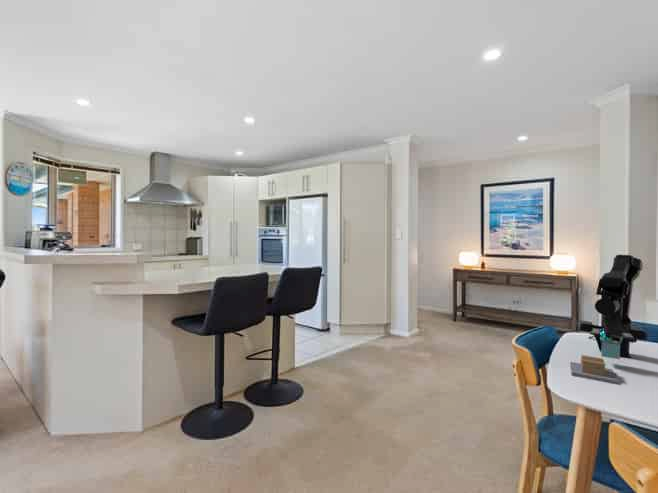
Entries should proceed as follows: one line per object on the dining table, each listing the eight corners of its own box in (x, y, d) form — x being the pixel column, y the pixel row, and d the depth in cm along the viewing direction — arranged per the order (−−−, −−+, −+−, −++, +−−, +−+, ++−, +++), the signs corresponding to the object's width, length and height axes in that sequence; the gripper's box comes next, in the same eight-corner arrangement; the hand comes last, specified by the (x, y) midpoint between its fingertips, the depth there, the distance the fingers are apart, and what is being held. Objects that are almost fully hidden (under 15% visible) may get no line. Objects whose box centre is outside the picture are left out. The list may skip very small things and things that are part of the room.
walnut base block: (580, 365, 121) (581, 354, 121) (602, 369, 118) (602, 358, 118) (582, 371, 116) (582, 360, 116) (604, 376, 113) (605, 364, 113)
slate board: (570, 364, 125) (570, 361, 125) (612, 372, 119) (612, 369, 119) (571, 375, 116) (571, 372, 116) (617, 384, 109) (617, 381, 109)
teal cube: (600, 352, 128) (600, 339, 128) (617, 354, 125) (617, 341, 125) (601, 356, 124) (602, 342, 124) (619, 359, 121) (620, 345, 121)
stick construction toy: (607, 339, 147) (596, 322, 151) (590, 345, 151) (580, 328, 155) (616, 342, 153) (606, 326, 157) (600, 347, 157) (590, 331, 162)
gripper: (581, 311, 122) (579, 354, 123) (651, 319, 112) (649, 365, 113) (579, 305, 131) (577, 345, 132) (644, 312, 121) (641, 355, 122)
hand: (609, 352), depth 125 cm, fingers closed on teal cube, 5 cm apart
